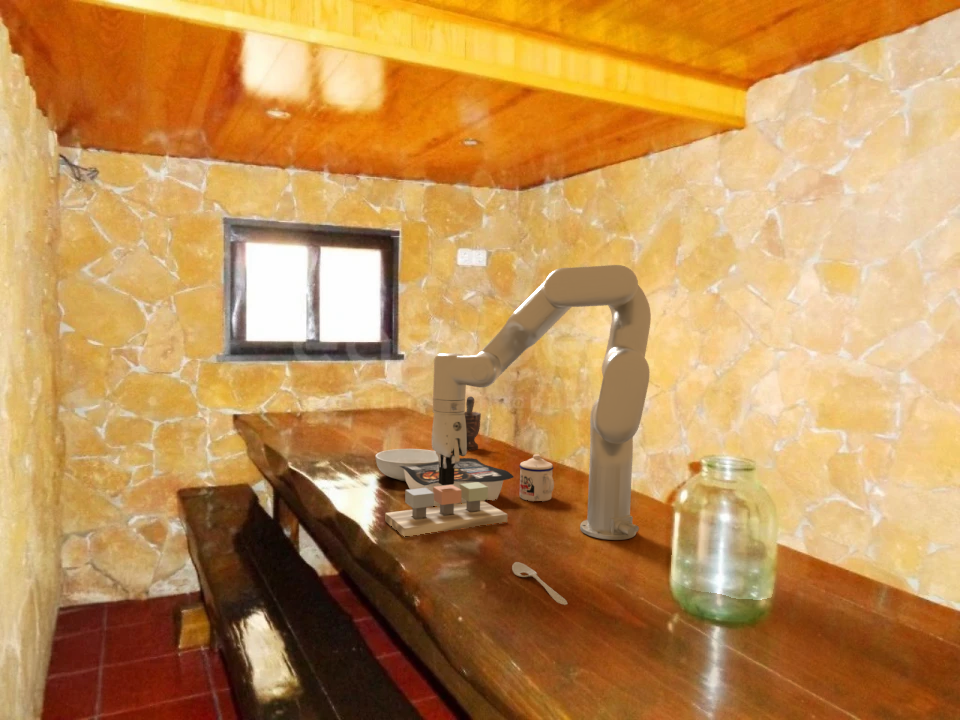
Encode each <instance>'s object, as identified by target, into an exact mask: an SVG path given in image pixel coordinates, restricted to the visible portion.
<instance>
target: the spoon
mask: <svg viewBox="0 0 960 720" xmlns="http://www.w3.org/2000/svg"><path fill="white" fill-rule="evenodd" d="M511 565H512V566H511V569H512V573H513V574H514V575H516V576H518V577H521V578H530V577H531V578H532V577H533V578H534V579H535V581H537V582H538V583H539V584H540V585H541V586H543V588H544V589H545V591H546V592H547V593H548V594H549V596H550V597H551V598H552V599H553V600H554V601H555V602H556V603H558V604H561V605H564V606H566V605H568V600H566V599H565V598H564V597H563V596H562V595H560V594H559V593H558V592H557V591H555V590H554V589H553V588H552V587H550V586H549V585H548V584H547V583H546V582H544V581H543V580H542V579H541V578H540V577H539V576H538V573H537V572H536V571H535V570H534V569H532V568H531V567H529V566H528V565H527V564H524V563H522V562H519V561H515V562H514V563H513V564H511ZM521 573H525V575H522V574H521ZM526 574H527V575H526Z"/></svg>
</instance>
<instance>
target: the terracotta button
mask: <svg viewBox="0 0 960 720" xmlns="http://www.w3.org/2000/svg"><path fill="white" fill-rule="evenodd" d="M433 493H434V500H435V501H436V502H438V503H439V504H440V512H441V513H442V514H444V515H446V514H454V503H458V504H461V494H462V490H461V489H459V488H457V487H455V486H454V485H446V486H437V487H433Z"/></svg>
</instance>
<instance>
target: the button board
mask: <svg viewBox="0 0 960 720" xmlns="http://www.w3.org/2000/svg"><path fill="white" fill-rule="evenodd" d="M466 507H467V503H462V504H461V503H458V504H454V514H446V515H444V514H442V513H441V512H440V506H437V507H433V506H430V507H426V517H423V518H415V517H414V516H412V509H406V510H400V511H399V510H398V511H391V512H385V515H384V516H385V518H384V519H385V523H387V524H388V525H389V526H390V527H391V526H392V527H391V528H392V529H393V530H395V531H396V530H397V531H398V532H399V534H400V536H402V535H403V536H404V537H403V536H402V537H403V538H406V537H405V536H410V537H414V536H413V535H417V536H421V535H420V534H424V535H426V534H425V533H430V534H432V533H431V532H437V533H439V532H438V531H444V532H449V531H448V530H451V531H455V530H454V529H458V530H462V529H461V528H465V529H470V528H469V527H472V528H476V527H475V526H479V527H481V526H480V525H486V526H488V525H487V524H492V525H495V524H494V523H499V524H503V523H502V522H506V523H508V513H506V512H504V511H503V510H501V509H499V508H497V507H495V506H493V505H492V504H490V503H488V502H486V500H484V501H480V510H476V511H470V510H468V509H467V508H466ZM397 531H396V532H397Z"/></svg>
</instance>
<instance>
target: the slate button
mask: <svg viewBox="0 0 960 720" xmlns="http://www.w3.org/2000/svg"><path fill="white" fill-rule="evenodd" d="M404 495H405V496H404V500H405V503H404V504H406V505H408V506H409V507H410V508H412V509H411V510H412V516H414V517H415V518H423V517H426V508H429V507H433V506H434V493H433V492H431V491H430V490H428V489H427V488H418V489H405V494H404Z"/></svg>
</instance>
